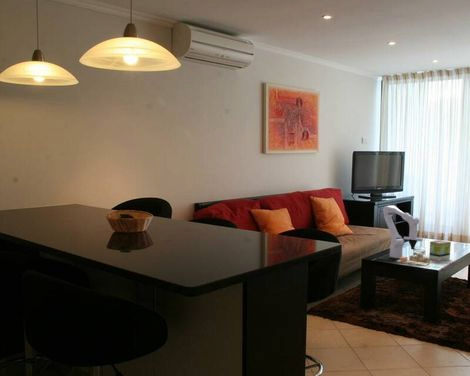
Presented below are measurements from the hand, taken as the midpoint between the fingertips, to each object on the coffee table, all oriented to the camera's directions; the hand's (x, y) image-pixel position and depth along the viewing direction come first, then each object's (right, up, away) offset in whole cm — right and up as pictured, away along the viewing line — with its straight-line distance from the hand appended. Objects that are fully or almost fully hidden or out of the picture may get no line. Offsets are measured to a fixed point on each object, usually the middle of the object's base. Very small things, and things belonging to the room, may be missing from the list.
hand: (412, 249), depth 380 cm
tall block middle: (+5, -10, -2) cm, 11 cm away
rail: (-3, -10, -9) cm, 14 cm away
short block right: (+9, -10, -6) cm, 15 cm away
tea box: (+25, -9, +8) cm, 28 cm away
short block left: (+1, -10, +1) cm, 10 cm away
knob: (-9, -9, -5) cm, 13 cm away
